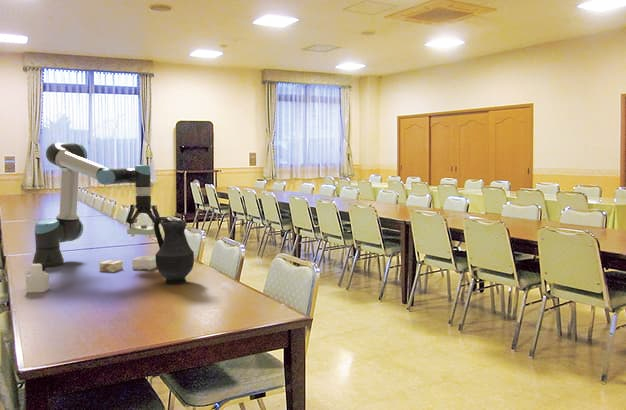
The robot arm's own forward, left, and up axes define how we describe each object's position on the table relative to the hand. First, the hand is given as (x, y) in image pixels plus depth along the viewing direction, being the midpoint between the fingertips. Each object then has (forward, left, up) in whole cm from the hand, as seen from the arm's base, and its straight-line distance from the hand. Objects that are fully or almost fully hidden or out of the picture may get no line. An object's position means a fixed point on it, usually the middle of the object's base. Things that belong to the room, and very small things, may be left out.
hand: (144, 236), depth 300 cm
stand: (-13, -10, -16) cm, 23 cm away
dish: (+1, 0, -16) cm, 16 cm away
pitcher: (+30, -26, -16) cm, 43 cm away
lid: (0, 0, +2) cm, 2 cm away
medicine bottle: (-18, -57, -16) cm, 62 cm away
